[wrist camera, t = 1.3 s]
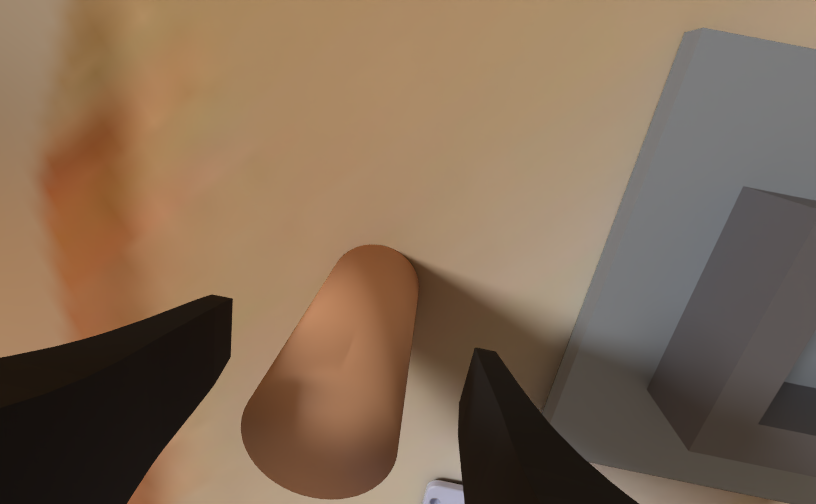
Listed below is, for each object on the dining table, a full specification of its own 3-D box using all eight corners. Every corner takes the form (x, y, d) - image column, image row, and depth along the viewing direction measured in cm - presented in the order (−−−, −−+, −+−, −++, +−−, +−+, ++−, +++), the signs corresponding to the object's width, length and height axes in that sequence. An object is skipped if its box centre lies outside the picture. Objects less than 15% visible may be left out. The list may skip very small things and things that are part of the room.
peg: (410, 332, 17) (383, 512, 10) (326, 315, 17) (238, 481, 10) (426, 254, 16) (411, 392, 9) (336, 236, 16) (244, 359, 9)
